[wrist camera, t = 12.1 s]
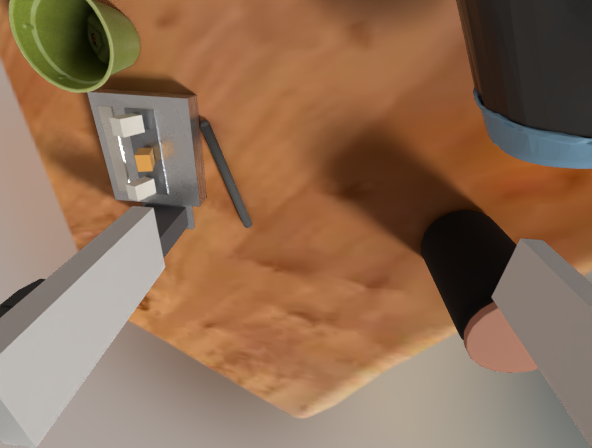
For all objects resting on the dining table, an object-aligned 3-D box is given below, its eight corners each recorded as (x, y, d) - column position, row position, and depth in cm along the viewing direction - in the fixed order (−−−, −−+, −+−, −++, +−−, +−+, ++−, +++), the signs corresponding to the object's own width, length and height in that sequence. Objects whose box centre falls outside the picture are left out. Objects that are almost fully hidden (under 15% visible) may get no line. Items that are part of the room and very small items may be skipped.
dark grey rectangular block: (144, 197, 46) (80, 250, 34) (191, 201, 46) (144, 256, 34) (149, 222, 49) (91, 281, 36) (194, 226, 48) (151, 287, 36)
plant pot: (141, -15, 33) (89, -32, 26) (164, 81, 38) (125, 90, 31) (61, -8, 34) (-13, -23, 27) (93, 85, 39) (38, 95, 31)
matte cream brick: (144, 176, 41) (125, 184, 39) (153, 178, 40) (134, 186, 38) (147, 190, 42) (128, 198, 40) (156, 192, 41) (138, 201, 39)
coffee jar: (406, 259, 48) (446, 360, 33) (438, 198, 43) (503, 286, 27) (471, 274, 49) (541, 382, 33) (511, 217, 43) (615, 313, 28)
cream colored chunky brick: (131, 113, 37) (109, 117, 35) (141, 114, 36) (119, 119, 34) (135, 130, 38) (113, 135, 36) (145, 132, 37) (123, 137, 35)
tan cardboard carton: (138, 147, 39) (134, 155, 36) (152, 147, 39) (149, 154, 36) (141, 163, 40) (137, 171, 37) (155, 162, 40) (152, 171, 37)
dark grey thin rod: (200, 120, 40) (197, 122, 39) (208, 118, 40) (205, 120, 39) (246, 226, 48) (244, 230, 46) (253, 224, 47) (252, 228, 46)
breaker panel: (102, 88, 39) (85, 92, 36) (196, 95, 39) (186, 98, 36) (127, 190, 46) (114, 200, 43) (206, 197, 46) (199, 207, 43)
